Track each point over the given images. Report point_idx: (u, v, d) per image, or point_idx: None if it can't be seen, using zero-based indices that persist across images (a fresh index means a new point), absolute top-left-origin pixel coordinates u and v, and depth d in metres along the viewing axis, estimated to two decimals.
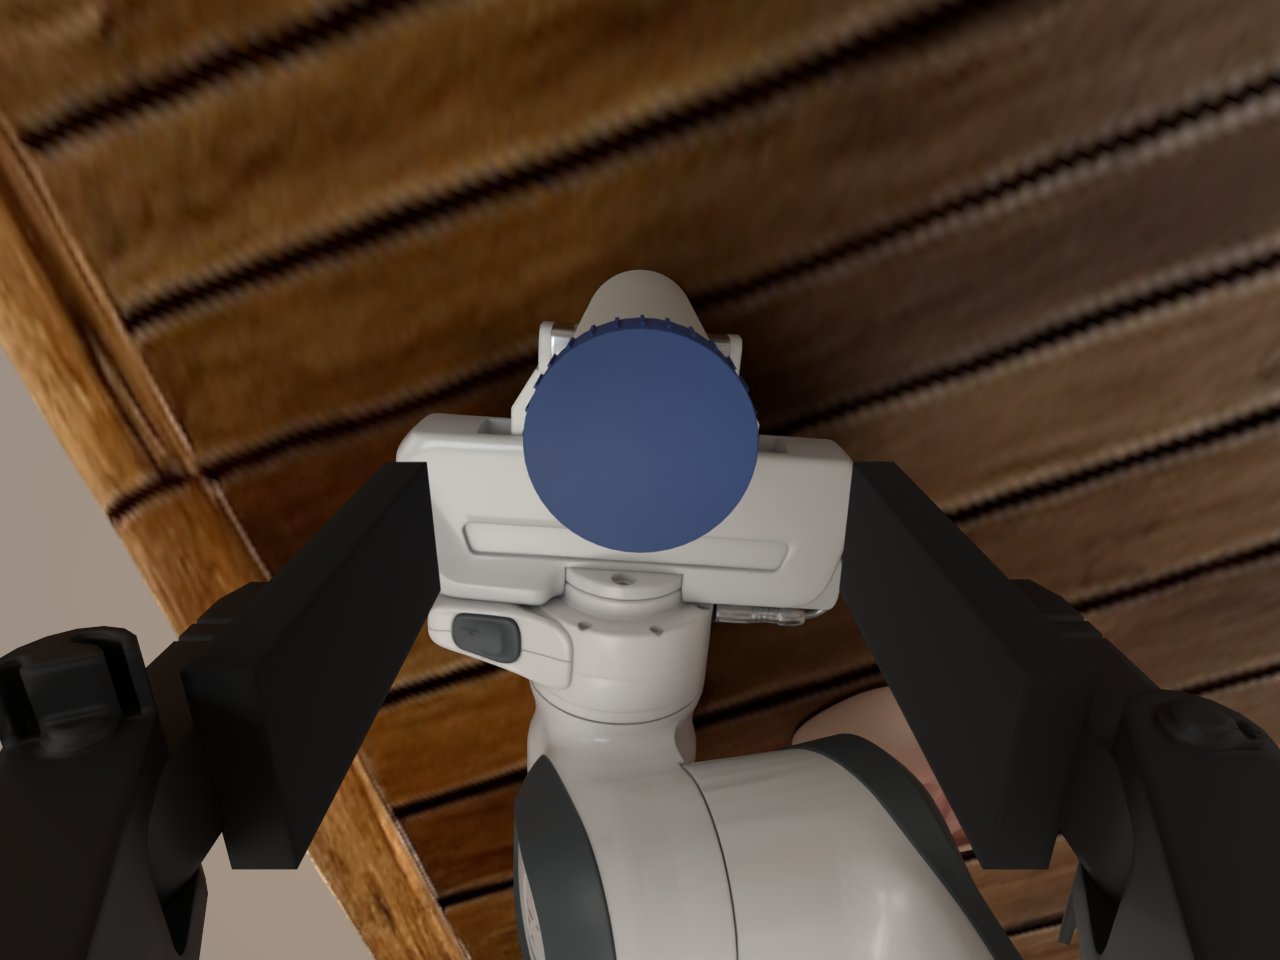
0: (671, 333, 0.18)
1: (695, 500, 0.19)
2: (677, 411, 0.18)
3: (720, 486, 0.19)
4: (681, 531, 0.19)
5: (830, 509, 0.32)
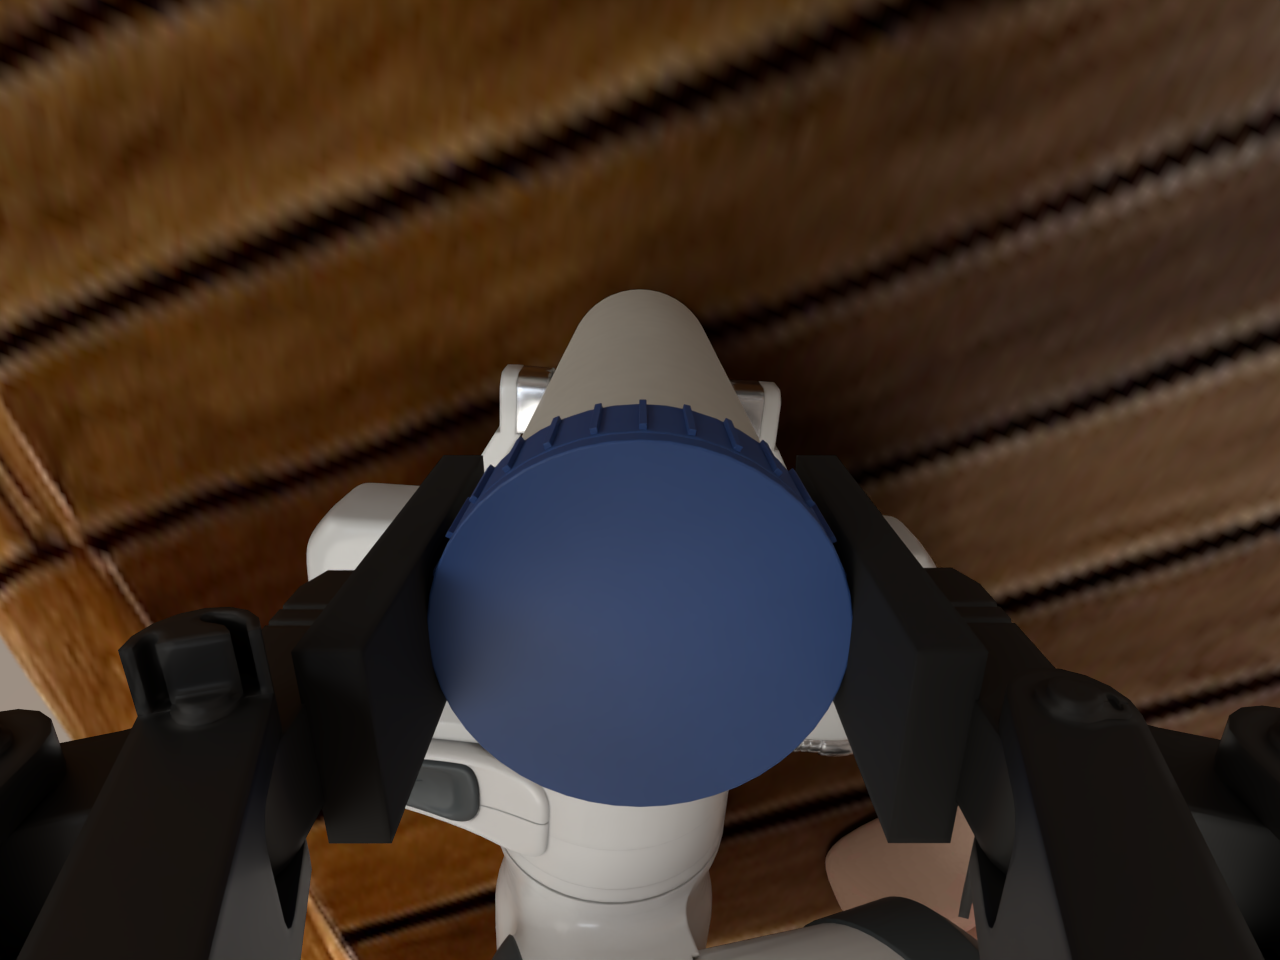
0: (697, 449, 0.09)
1: (736, 727, 0.11)
2: (707, 584, 0.10)
3: (781, 705, 0.11)
4: (710, 775, 0.11)
5: None
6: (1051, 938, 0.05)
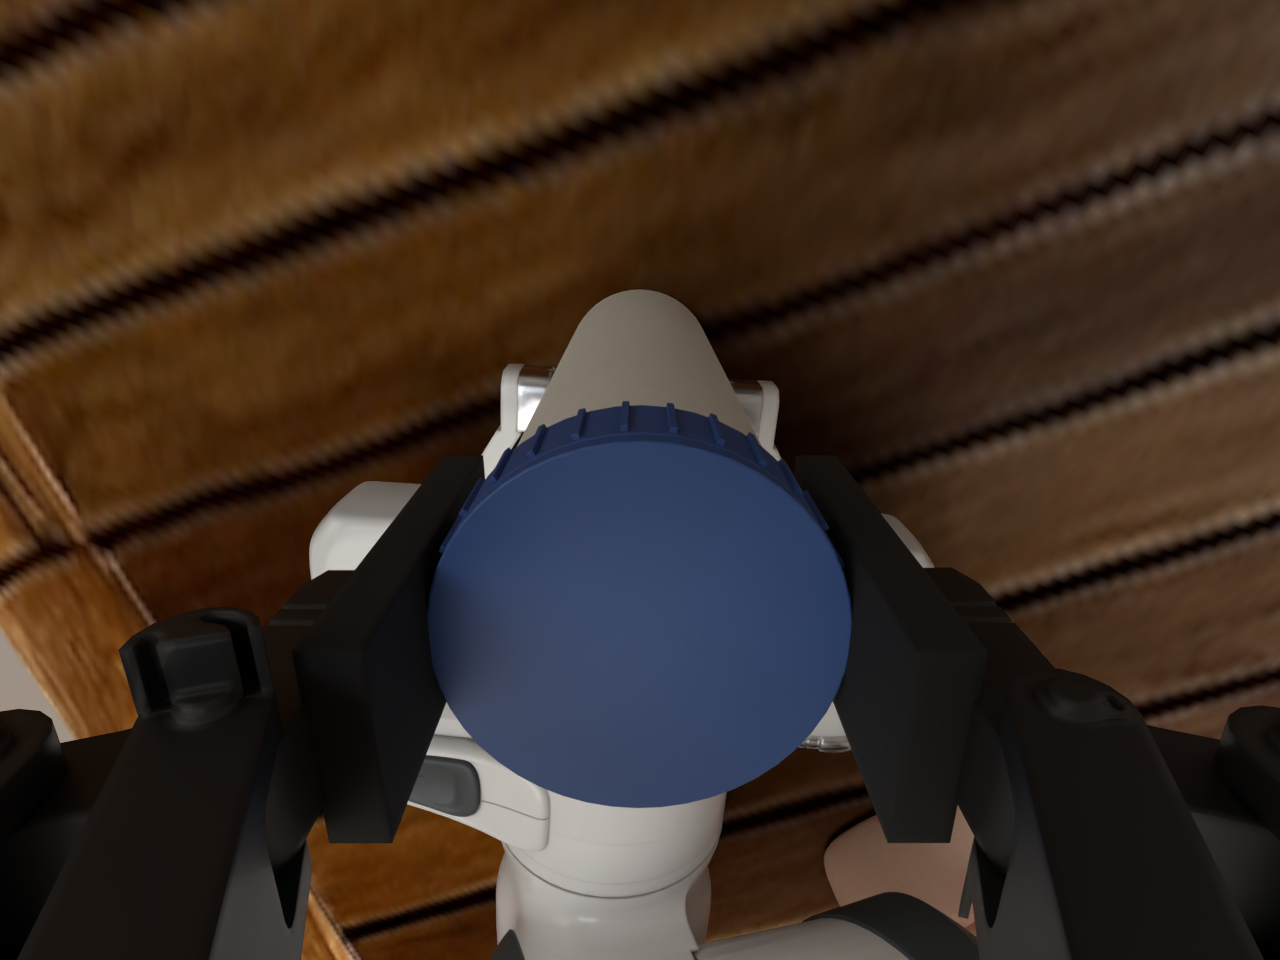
0: (461, 527, 0.10)
1: (778, 598, 0.10)
2: (602, 567, 0.10)
3: (773, 550, 0.10)
4: (823, 640, 0.10)
5: None
6: (1051, 938, 0.05)
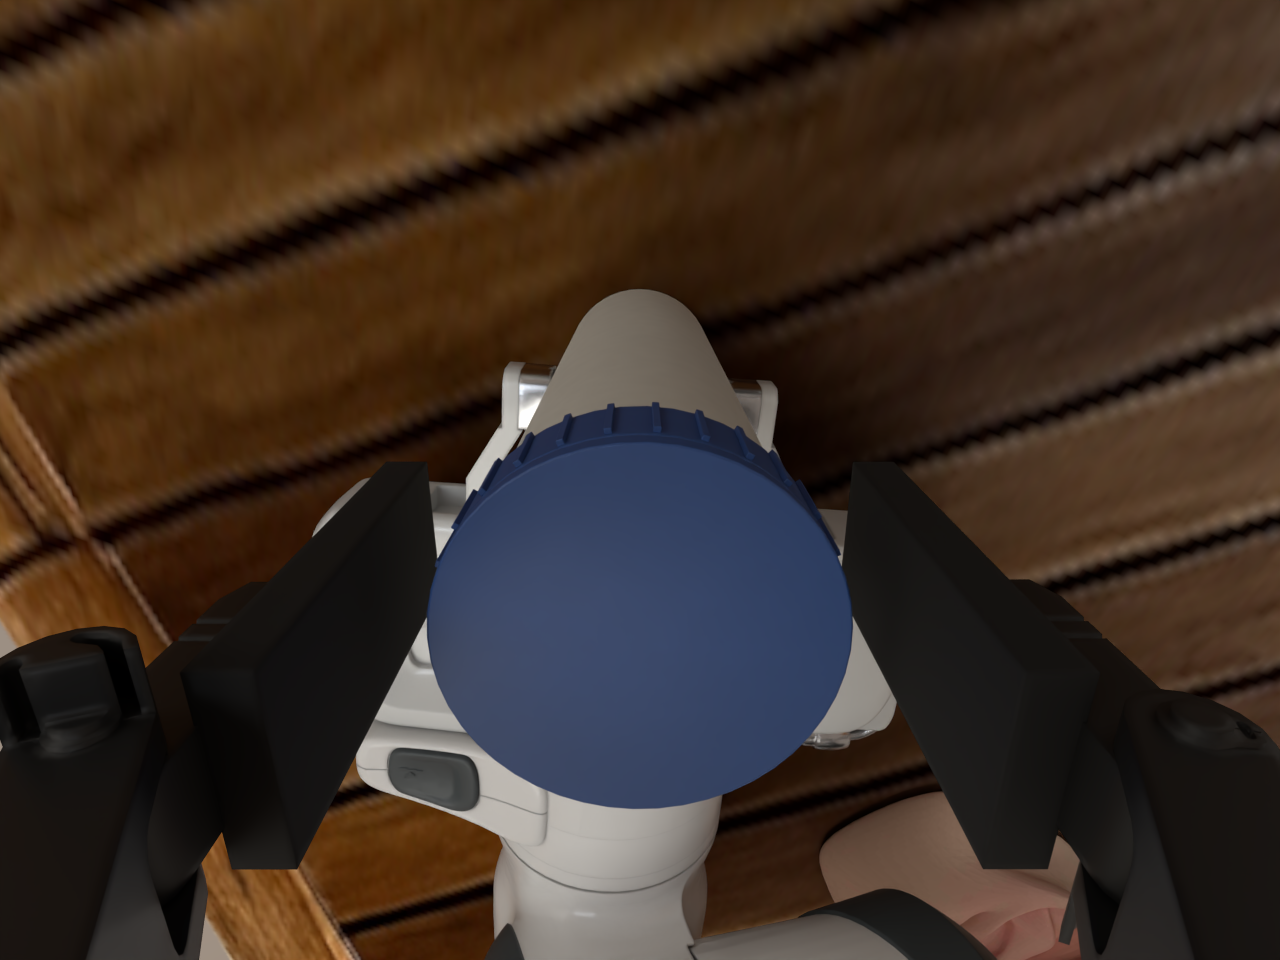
0: (463, 728, 0.11)
1: (647, 512, 0.10)
2: (546, 643, 0.10)
3: (591, 497, 0.10)
4: (715, 487, 0.09)
5: None
6: None
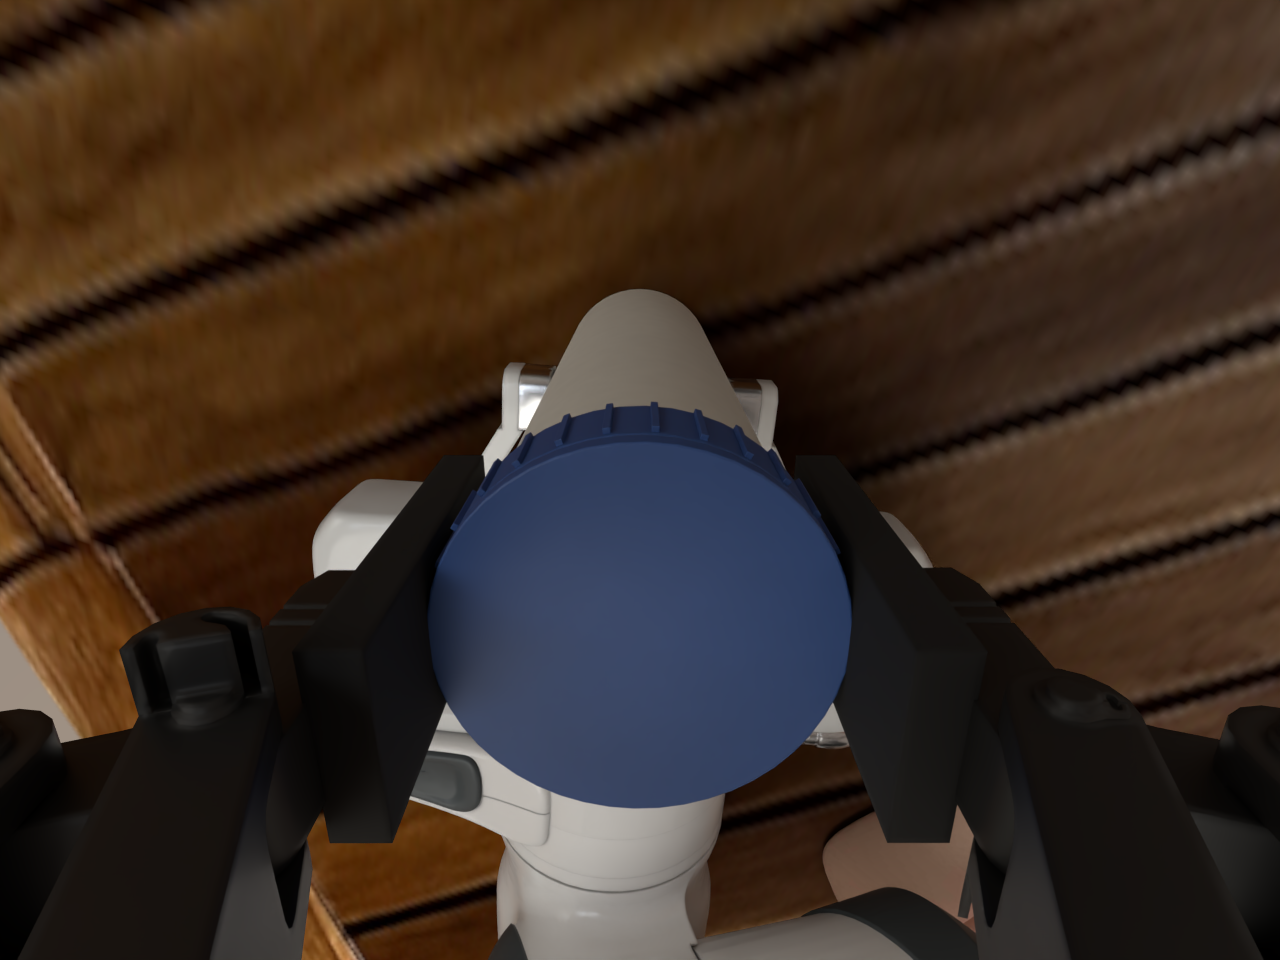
0: None
1: (646, 511, 0.10)
2: (546, 643, 0.10)
3: (590, 498, 0.10)
4: (714, 486, 0.09)
5: None
6: (1050, 937, 0.05)
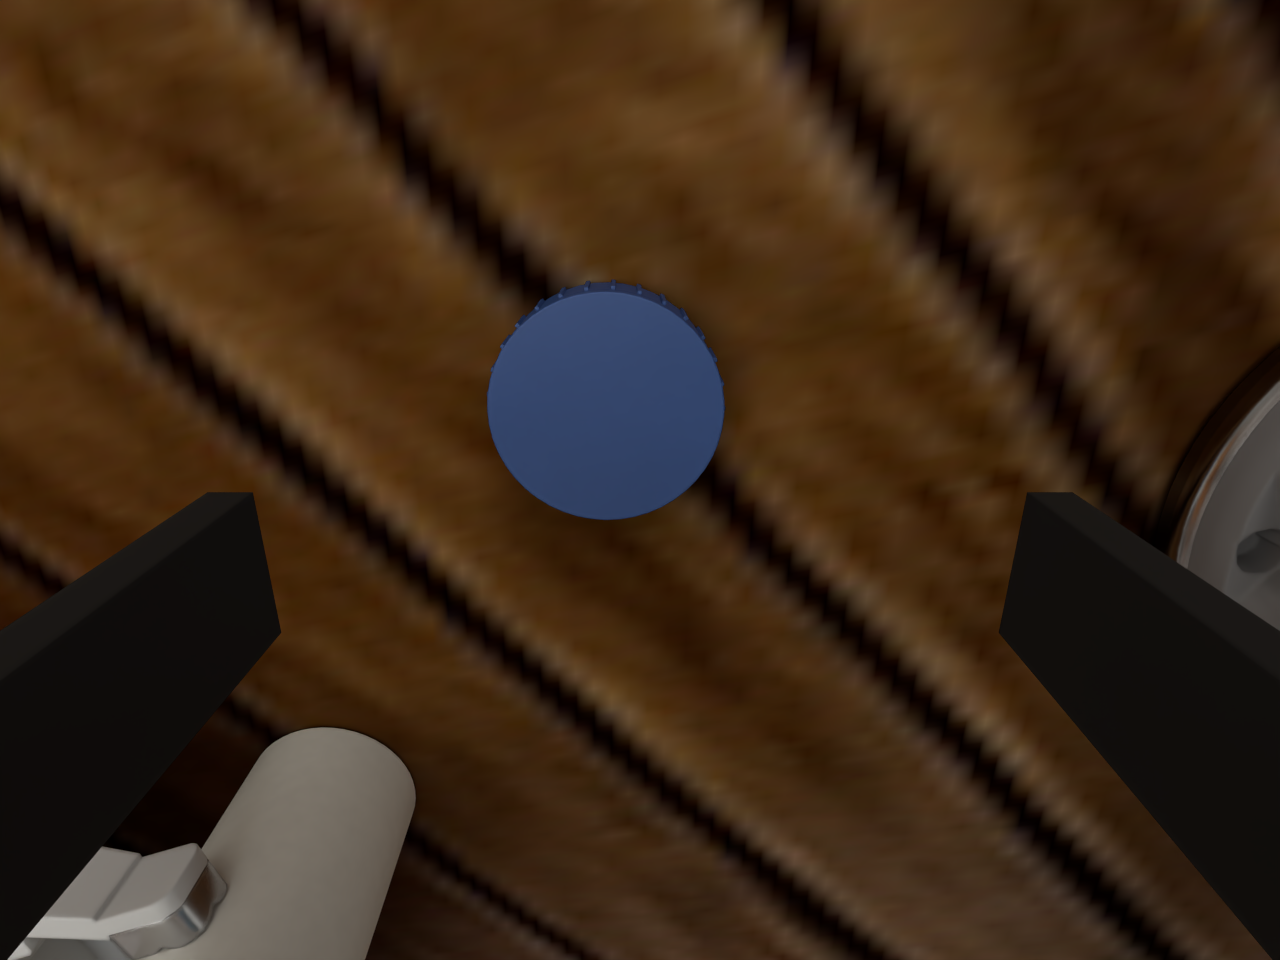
0: (507, 467, 0.19)
1: (608, 331, 0.18)
2: (554, 412, 0.19)
3: (577, 324, 0.18)
4: (644, 317, 0.18)
5: None
6: None
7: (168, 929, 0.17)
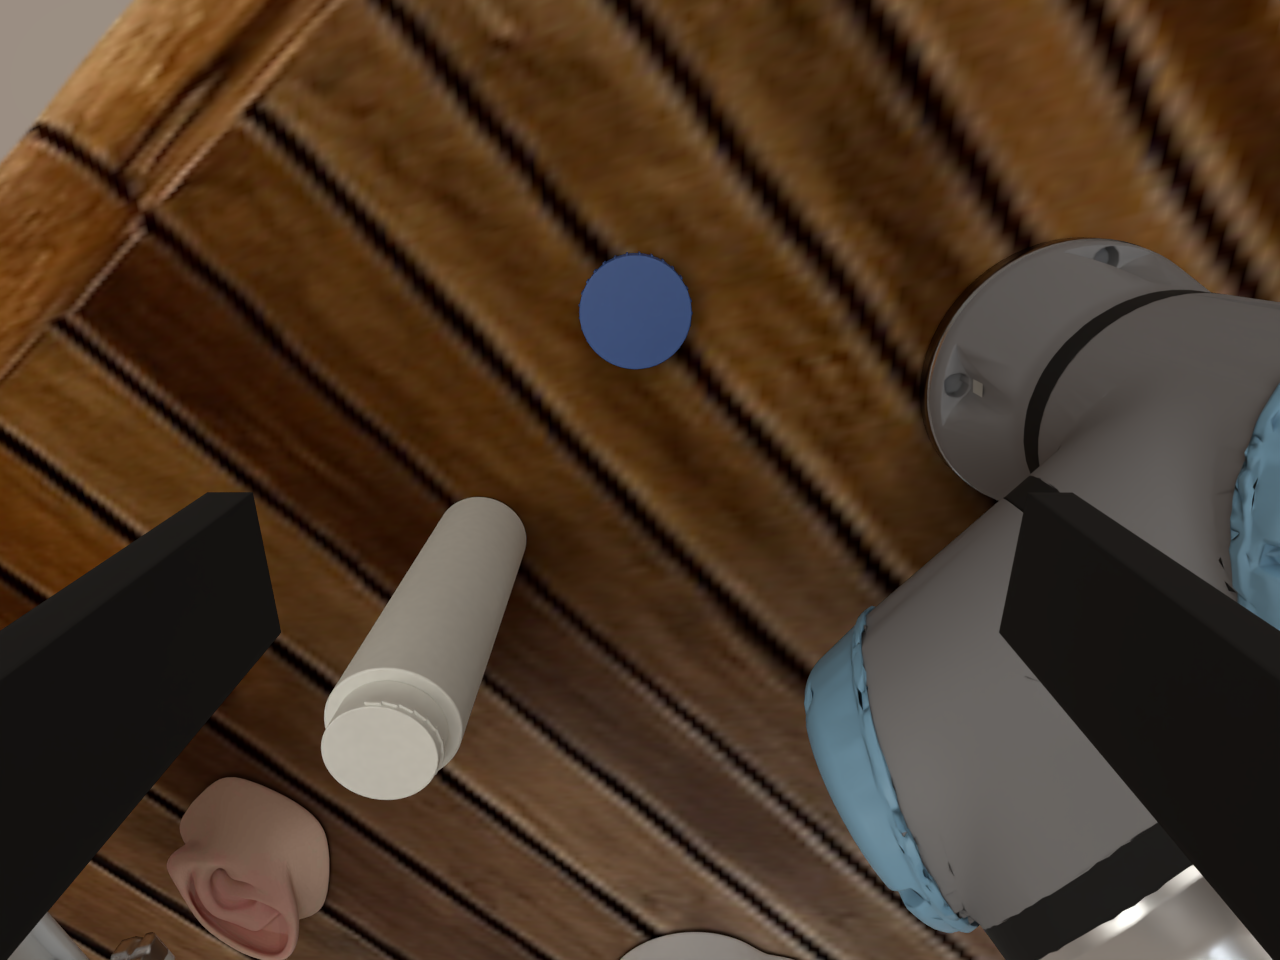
0: (587, 341, 0.40)
1: (636, 274, 0.38)
2: (610, 313, 0.39)
3: (623, 270, 0.38)
4: (653, 267, 0.38)
5: None
6: None
7: None
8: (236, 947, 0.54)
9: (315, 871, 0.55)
